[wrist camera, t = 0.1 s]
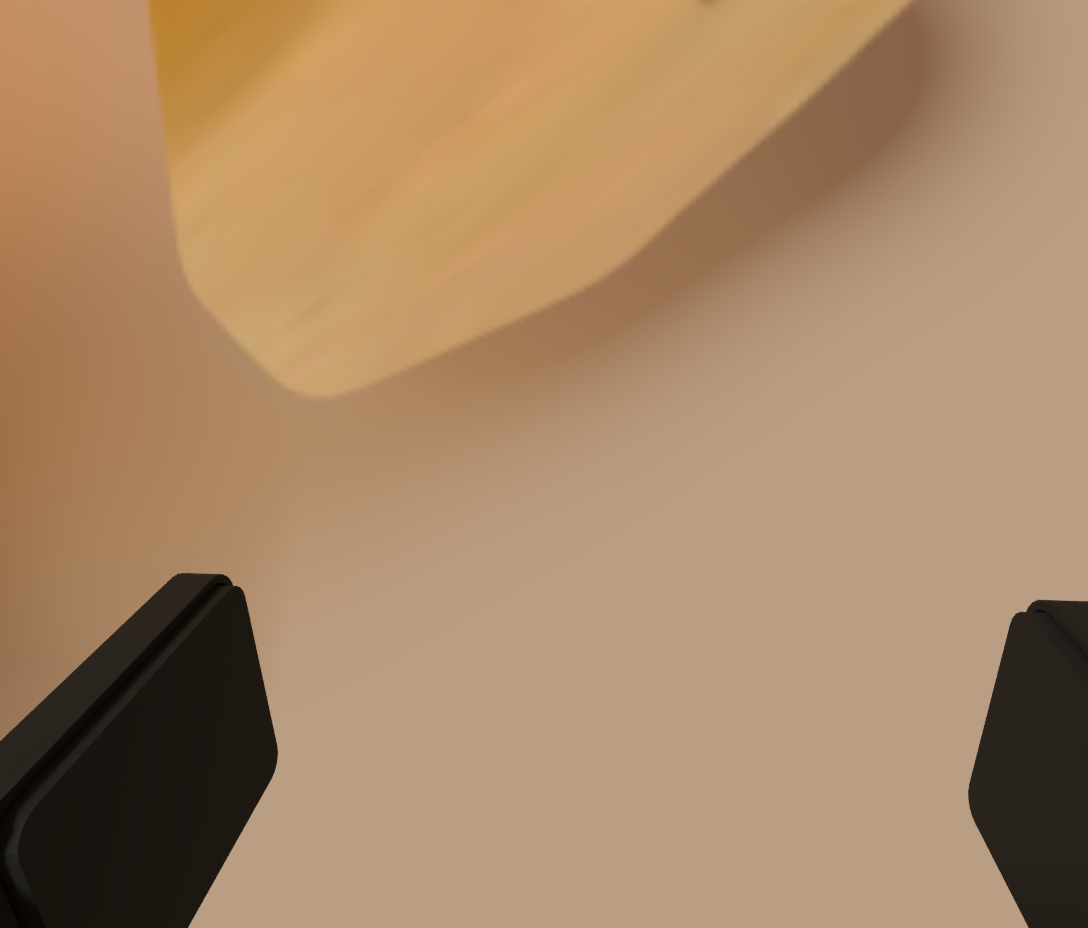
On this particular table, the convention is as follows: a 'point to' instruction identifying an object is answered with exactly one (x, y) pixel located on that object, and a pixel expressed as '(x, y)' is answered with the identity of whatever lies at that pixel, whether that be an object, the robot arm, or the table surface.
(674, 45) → the table surface
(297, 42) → the table surface
